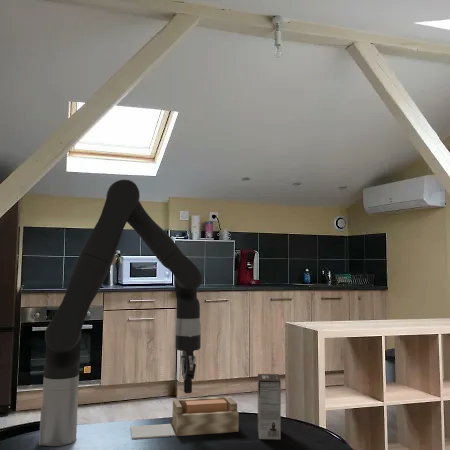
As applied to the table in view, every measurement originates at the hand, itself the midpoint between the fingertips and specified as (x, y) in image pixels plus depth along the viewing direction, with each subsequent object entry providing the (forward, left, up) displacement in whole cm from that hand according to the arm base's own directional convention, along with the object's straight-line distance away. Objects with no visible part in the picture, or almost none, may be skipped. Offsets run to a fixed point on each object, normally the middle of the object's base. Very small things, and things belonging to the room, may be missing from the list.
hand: (187, 392), depth 139 cm
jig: (+5, 0, -11) cm, 12 cm away
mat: (-10, 0, -11) cm, 15 cm away
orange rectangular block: (+6, 0, -7) cm, 9 cm away
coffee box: (+22, -9, -11) cm, 26 cm away
